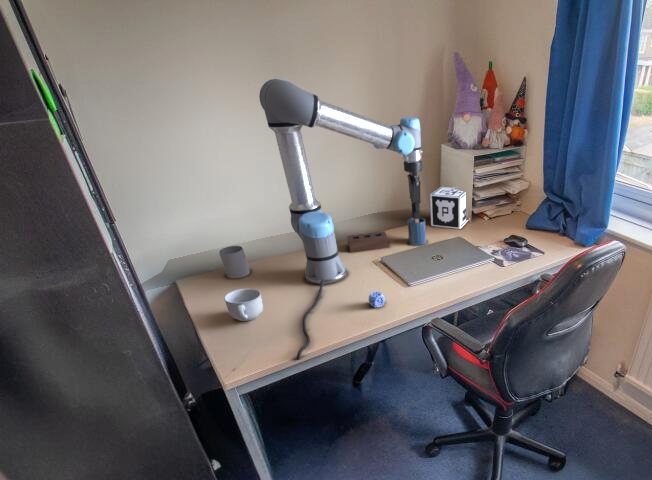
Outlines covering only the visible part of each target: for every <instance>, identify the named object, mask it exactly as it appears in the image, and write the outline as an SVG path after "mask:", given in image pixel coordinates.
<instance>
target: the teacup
mask: <svg viewBox="0 0 652 480" xmlns="http://www.w3.org/2000/svg"><path fill="white" fill-rule="evenodd" d="M223 299H224V302H225V304H226V308H227V311H228V314H229V315H230V316H231V317H232V318H233V319H235V320H238V321H241V322H248V321H249V322H250V321H253V320H255V319H256V318H258V317H259V316H260V315H262V312H263V310H264V305H263V299H262V293H261V291H260V290H259V289H256V288H239V289H235V290H232V291H230V292H228V293H226V294H225V295H224V297H223Z"/></svg>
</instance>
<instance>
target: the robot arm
mask: <svg viewBox="0 0 652 480" xmlns="http://www.w3.org/2000/svg"><path fill="white" fill-rule="evenodd" d="M258 95H259V97H258V98H259V103H260V105H261V108H262V110H263V111H264V113H265V119H266V122H267V127H268V128H269V130H272V131H273V133H274V135H275V139H276V140H275V141H276V143H277V144H276V145H277V148H278V151H279V155H280V160H281V163H282V168H283V172H284V175H285V179H286V184H287V188H288V193H289V196H290V200H291V202H290V204H289V205H288V209H289V213H290V224H291V225H290V226H291V227H292V229H293V231H294V232H295V233H296V234H297V236H298V237H299V238H300V240H301V241H302V245H303V248H304V249H303V250H304V253H305V258H306V262H305V263H306V264H305V271H304V276H305V280H306V282H308V283H309V284H313V285H319V290H318V294H317V296H316V299H315V300H314V302H313V304H312V305H311V307H309V308H308V309H307V311H306V312H305V313H304V315H303V317H302V331H303V334H304V336H305V338H306V342H305V344H304V345H302V346H301V347H300V348H299V349H298V351H297V354H296V360H297V361H300V360H301V356H302V353H303V352H304V350H306V349H307V348H308V347H309V345H310V344H311V338H310V335H309V333H308V331H307V319H308V316H309V314H310V313H311V312H312V311H313V310H314V309H315V308H316V306H317V305H318V303H319V300H320V299H321V296H322V292H323V287H324V285H331V284H334V283H337V282H339V281H341V280H343V279H344V278H345V277H347V269H346V267H345V265H344V262H343V261H342V259H341V257H340V256H339V252H338V245H337V240H336V234H335V233H336V232H335V226H334V222H333V219H332V216H330V215H329V213H326V212H323V210H322V205H321V202H320V201H319V200H317V199H316V195H315V192H314V187H313V181H312V178H311V172H310V168H309V164H308V159H307V154H306V149H305V144H304V140H303V135H302V131H301V129H302V128H303V127H308V128H311V129H313V128H315V127H319V128H322V129H325V130H328V131H331V132H334V133H337V134H340V135H343V136H346V137H349V138H353V139H354V140H355V139H356V140H359V141H361V142H365V143H368V144H371V145H372V146H373V147H374V148H375V149H378V150H379V149H380V150H383V149H386V150H389V151H392V152H395V153H397V154H399V155H402V160H403V171H404V172H406V173H408V174H407V176H406V177H407V183H408V191H409V199H410V202H411V215H412V216H411V218H414V219H420V218H421V207H420V204H421V203H422V202H421V199H422V198H421V183H422V182H421V180H420V175H419V172H421V171H423V161H422V160H423V159H422V156H423V155H422V154H423V153H424V152H423V150H422V137H421V131H422V130H421V124H420V123H421V122H420V119H419V118H418V117H414V116H408V117H402V118H400V122H399V124H393V125H389V124H387V123H383V122H380V121H377V120H375V119H373V118H370V117H367V116H364V115H361V114H359V113H356V112H353V111H350V110H348V109H345V108H342V107H340V106H336V105H334V104H331V103H328V102H325V101H323V100H321V99H320V97H319V96H318V95H316V94H314V93H311V92H309V91H307V90H305V89H303V88H302V87H299V86H297V85H296V84H294V83H292V82H290V81H288V80H283V79H281V78H272V79H269V80H267V81H265V82H264V84H262V86H261V87H260V90H259V94H258Z"/></svg>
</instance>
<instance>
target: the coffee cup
mask: <svg viewBox="0 0 652 480" xmlns="http://www.w3.org/2000/svg"><path fill="white" fill-rule="evenodd" d="M406 221H407V222H406V223H407V234H408V236H407V237H408V244H409V245H411V246H424V245H426V244H427V225H426V219H425V218H423V217H420V219H419V223H414V217H411V218H408V219H407V220H406Z"/></svg>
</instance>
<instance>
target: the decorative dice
mask: <svg viewBox="0 0 652 480" xmlns="http://www.w3.org/2000/svg"><path fill="white" fill-rule="evenodd" d="M368 302H369V304H370V306H371V307H372V308H375V309H376V308H377V309H378V308H381V307H383V306H384V305H385V302H386V299H385V296H384V294H383V292H381V291H373V292H371V293H370V294H369V296H368Z"/></svg>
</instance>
